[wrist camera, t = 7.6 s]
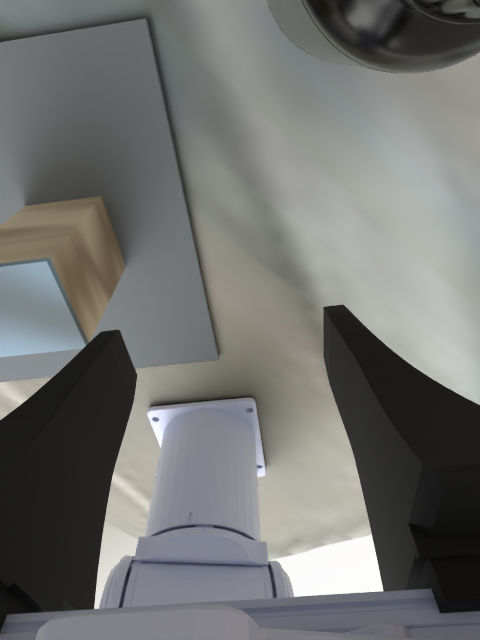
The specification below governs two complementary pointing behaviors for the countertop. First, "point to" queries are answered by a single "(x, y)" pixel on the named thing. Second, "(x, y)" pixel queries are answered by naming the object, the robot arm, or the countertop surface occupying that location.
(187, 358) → the rubber mat
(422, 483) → the robot arm
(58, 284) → the beech block
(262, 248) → the countertop surface
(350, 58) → the supplement bottle
